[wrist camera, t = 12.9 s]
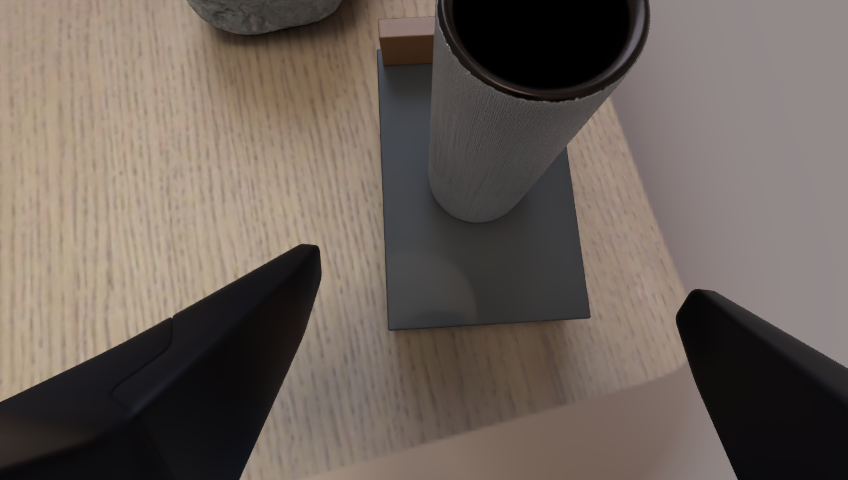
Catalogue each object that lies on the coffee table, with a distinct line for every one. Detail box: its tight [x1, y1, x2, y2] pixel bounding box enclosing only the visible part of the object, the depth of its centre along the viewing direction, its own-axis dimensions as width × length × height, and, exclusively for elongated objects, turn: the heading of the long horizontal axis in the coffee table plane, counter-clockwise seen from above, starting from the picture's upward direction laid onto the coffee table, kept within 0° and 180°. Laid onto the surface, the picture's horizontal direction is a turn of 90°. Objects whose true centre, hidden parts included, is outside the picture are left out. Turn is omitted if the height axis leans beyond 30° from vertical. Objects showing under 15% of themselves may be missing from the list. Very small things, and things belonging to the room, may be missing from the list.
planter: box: [428, 0, 650, 223], centre depth 13 cm, size 4×4×10 cm
